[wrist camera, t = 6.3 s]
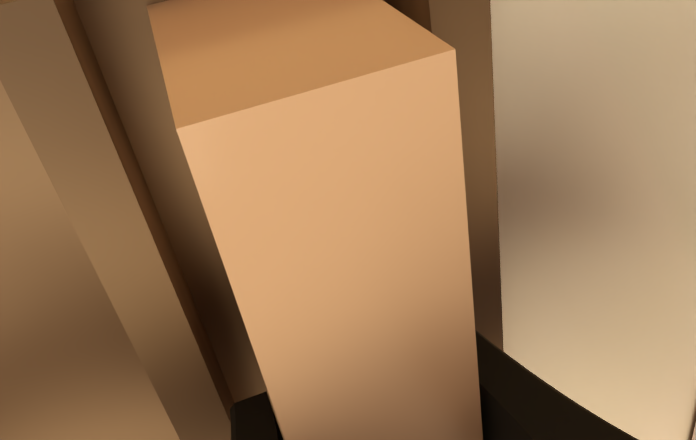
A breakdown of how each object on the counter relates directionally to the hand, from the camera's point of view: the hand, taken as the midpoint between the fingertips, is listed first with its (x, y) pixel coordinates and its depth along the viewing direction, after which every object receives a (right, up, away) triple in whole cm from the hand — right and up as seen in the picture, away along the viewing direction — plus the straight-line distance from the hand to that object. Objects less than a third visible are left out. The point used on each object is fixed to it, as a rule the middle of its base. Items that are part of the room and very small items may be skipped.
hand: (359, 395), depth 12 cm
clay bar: (-1, +2, +2) cm, 3 cm away
